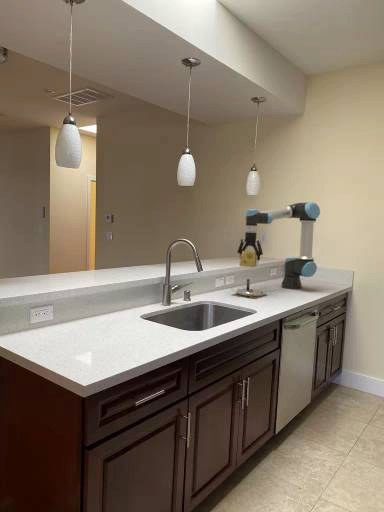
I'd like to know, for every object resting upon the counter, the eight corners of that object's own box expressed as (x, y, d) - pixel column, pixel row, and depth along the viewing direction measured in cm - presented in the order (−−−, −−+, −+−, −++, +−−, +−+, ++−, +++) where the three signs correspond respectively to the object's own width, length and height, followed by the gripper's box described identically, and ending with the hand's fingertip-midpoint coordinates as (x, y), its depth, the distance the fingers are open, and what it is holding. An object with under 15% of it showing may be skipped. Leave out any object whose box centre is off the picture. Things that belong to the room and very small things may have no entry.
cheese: (239, 266, 262) (240, 251, 261) (244, 264, 272) (244, 250, 271) (254, 267, 257) (255, 252, 257) (258, 265, 267) (259, 251, 266)
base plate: (244, 291, 276) (244, 290, 276) (267, 295, 266) (267, 293, 266) (230, 295, 261) (231, 294, 261) (255, 299, 251) (255, 297, 251)
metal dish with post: (231, 292, 266) (231, 279, 265) (250, 290, 276) (251, 278, 275) (249, 297, 251) (249, 283, 251) (269, 295, 261) (269, 281, 261)
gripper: (233, 231, 267) (231, 263, 269) (264, 233, 252) (262, 266, 254) (238, 231, 273) (237, 262, 274) (269, 233, 258) (267, 265, 260)
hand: (249, 264), depth 264 cm, fingers closed on cheese, 11 cm apart
